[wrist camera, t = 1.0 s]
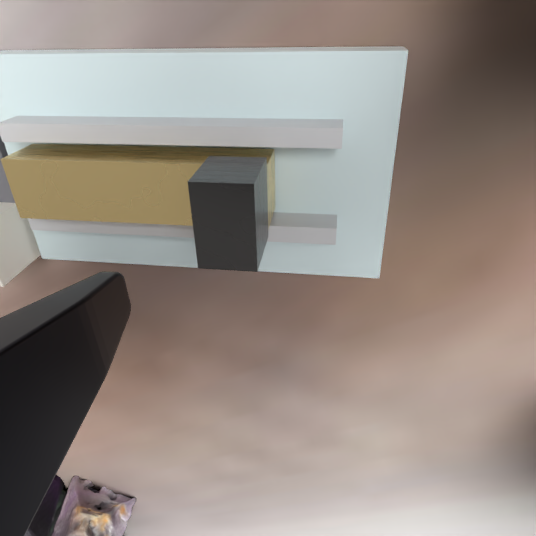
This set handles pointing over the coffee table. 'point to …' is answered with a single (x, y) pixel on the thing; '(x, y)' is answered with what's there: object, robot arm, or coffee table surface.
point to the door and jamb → (216, 144)
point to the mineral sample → (80, 511)
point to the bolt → (155, 192)
